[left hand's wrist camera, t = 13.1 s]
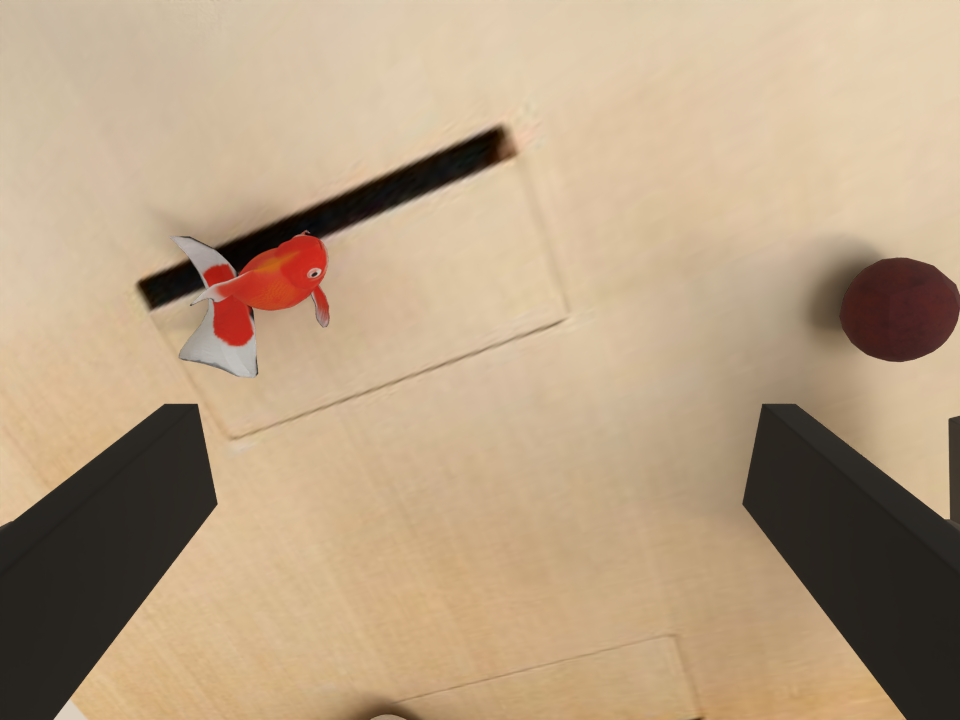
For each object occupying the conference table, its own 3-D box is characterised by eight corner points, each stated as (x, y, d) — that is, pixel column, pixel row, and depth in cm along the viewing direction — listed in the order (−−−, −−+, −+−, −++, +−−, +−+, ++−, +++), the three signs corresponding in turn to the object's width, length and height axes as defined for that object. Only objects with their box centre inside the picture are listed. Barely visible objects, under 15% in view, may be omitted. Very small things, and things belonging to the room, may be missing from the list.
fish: (385, 359, 41) (277, 375, 32) (249, 378, 48) (133, 394, 40) (364, 217, 40) (250, 193, 32) (231, 258, 48) (110, 249, 40)
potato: (825, 354, 46) (884, 387, 39) (814, 267, 43) (875, 286, 36) (916, 327, 45) (992, 356, 38) (910, 237, 42) (991, 251, 36)
